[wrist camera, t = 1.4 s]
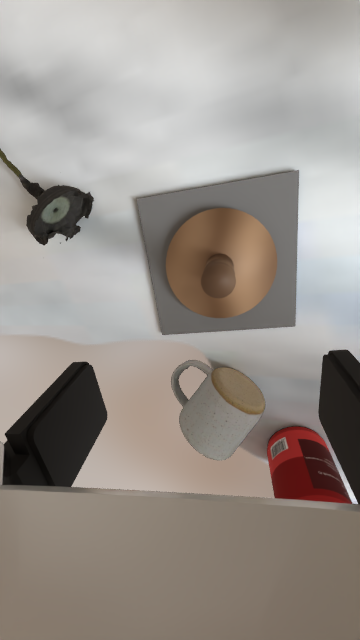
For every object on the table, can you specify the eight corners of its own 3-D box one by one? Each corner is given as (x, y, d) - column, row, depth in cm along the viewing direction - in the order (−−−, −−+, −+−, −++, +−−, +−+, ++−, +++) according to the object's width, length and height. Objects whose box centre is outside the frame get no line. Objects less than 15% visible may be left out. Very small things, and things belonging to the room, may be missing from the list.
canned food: (265, 465, 38) (280, 558, 28) (266, 423, 35) (283, 510, 25) (322, 468, 36) (360, 567, 26) (328, 424, 33) (373, 517, 23)
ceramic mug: (265, 380, 32) (276, 427, 25) (232, 422, 36) (233, 474, 29) (190, 341, 32) (179, 378, 25) (163, 387, 35) (147, 431, 28)
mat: (297, 171, 23) (298, 170, 23) (293, 324, 29) (295, 326, 28) (138, 199, 26) (136, 198, 25) (163, 332, 32) (162, 334, 31)
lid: (274, 198, 24) (291, 195, 18) (275, 310, 28) (289, 338, 22) (159, 217, 26) (140, 220, 20) (176, 318, 30) (164, 345, 24)
